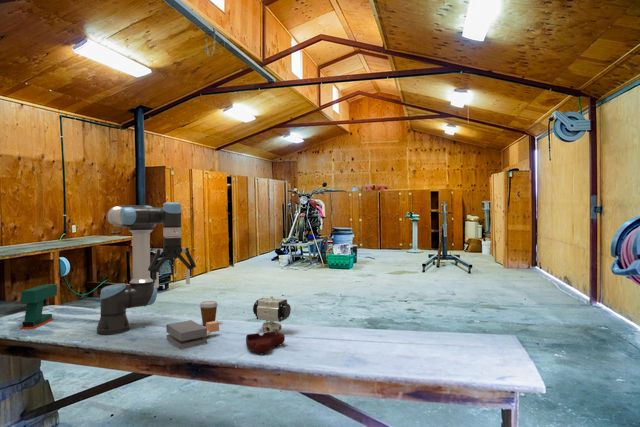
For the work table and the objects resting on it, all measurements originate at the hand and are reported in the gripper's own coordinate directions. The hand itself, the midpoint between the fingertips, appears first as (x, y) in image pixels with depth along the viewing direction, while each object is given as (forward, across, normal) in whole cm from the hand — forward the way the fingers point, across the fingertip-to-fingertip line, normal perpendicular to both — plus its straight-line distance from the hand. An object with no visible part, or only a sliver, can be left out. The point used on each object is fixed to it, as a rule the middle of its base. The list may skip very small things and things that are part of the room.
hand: (172, 285), depth 175 cm
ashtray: (+28, +31, -24) cm, 48 cm away
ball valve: (+28, +47, -7) cm, 55 cm away
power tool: (+28, -39, +96) cm, 107 cm away
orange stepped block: (+26, +15, +7) cm, 31 cm away
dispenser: (+28, +9, +7) cm, 30 cm away
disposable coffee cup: (+28, +29, +27) cm, 49 cm away
